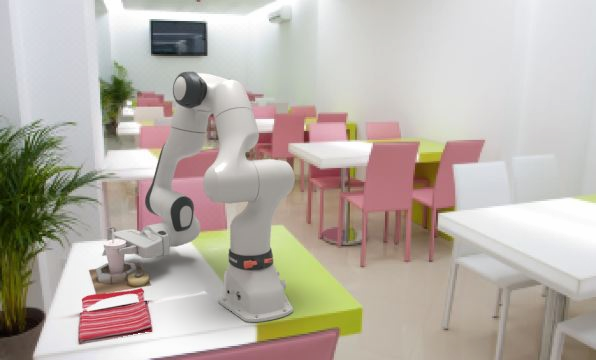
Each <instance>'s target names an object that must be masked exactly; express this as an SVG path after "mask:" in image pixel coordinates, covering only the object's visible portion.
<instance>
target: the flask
mask: <svg viewBox="0 0 596 360" xmlns="http://www.w3.org/2000/svg"><path fill="white" fill-rule="evenodd" d="M112 229H114V232H117V229H118V227H116V226H109V227H107V228H106V231H107V239H106V241H109V240H112ZM102 256H106V257H107V255H106V251H105V248H103V252H102Z"/></svg>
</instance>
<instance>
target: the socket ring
mask: <svg viewBox="0 0 596 360" xmlns="http://www.w3.org/2000/svg"><path fill="white" fill-rule="evenodd" d="M133 263H134V262H127V261H124V269H123V271H127V272H125V273H119V274H113V275H112V274H107V273H108V272H110V270H109V265H108V262H107V263H104V264H102V265H100V266H99V267H97V268H95V269H96V276H97V280H98V282H100V283H106V284H117V283H123V282H127V281H128V276H129V275H131V274H134V273H137V269H136V266H135V264H133Z"/></svg>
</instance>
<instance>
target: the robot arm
mask: <svg viewBox="0 0 596 360" xmlns="http://www.w3.org/2000/svg"><path fill="white" fill-rule="evenodd" d="M172 95H173V99H174V101H175V102H176V105H175V108H174V111H173V114H172V119H171V125H170V129H169V134H168V137H167V139H166V141H165V142H164V144H163V145H162V147H161V150H160V153H159V157H158V160H157V163H156V167H155V171H154V176H153V178H152V182H151V184H150V187H149V189H148V191H147V192H146V195H145V199H144V204H145V208H146V209H147V211H148V212H149V213H151V214H153V215H156V216H158V217H161V218H162V221H160V222H157V223H153V224H149V225H145V226H143V228H142V230H141V231H140V230H137V229H134V228H132V229H123V230H118V231H117V230H116V232H114V239H122V240H125V241H126V246H125V248H124V247H122V248H118V250H117V251H118V254H120V255H124V254H125V255H137V256H139V257H141V258H143V259H151V258H155V257H156V258H157V257H159V256H166V255H170V248H172V247H173V248H177V247H179V246H183V245H186V244H189V243H191V242H193V241H194V240H196V239H197V238H198V237H199V235H200V232H201V223H200V221H199V219H198V218H197V217H196V215H195V205H194V202H193V200H192V199H191V198H190V197H189V196H187V195H184V194H183V193H180V192H178V191H175V190H174V189H173V186H172V184H173V180H174V176H175V173H176V170H177V169H176V168H177V165H178V163H179V162H180V161H181V160H183V159H185V158H186V159H187V158H190V157H194V156H196V155H198V154H199V153H200V152H201V151H202V150H203V147H204V145H205V142H206V138H207V137H206V136H207V131H208V123H209V118H210V116H211V115H213V119H214V123H215V127H216V131H217V133H216V134H217V138H218V145H219V147H218V152H217V156H216V158H215V161H214V162H213V163H212V164H211V165H210V166H209V167H208V168H207V170H206V171H205V173H204V175H203V180H202V187H203V191H204V193H205V195H206V197H207V198H208V199H209V200H210V201H211V202H212V203H219V204H238V203H245V202H247V204H246V205H245V207H244V209H243V210H242V211H241V212H240V213H238V214H237V215H236V216H234V217H233V219H232V220H231V222H230V226H229V227H230V228H229V230H230V231H229V232H230V233H229V235H230V237H229V240H230V241H229V242H230V243H229V245H230V248H229V249H228V256H227V257H228V263H229V264H228V266H227V268H226V270H225V271H224V273H223V289H222V290H223V291H222V295H220V296H219V297H218V304H219V305H221V306H222V307H224V308H225V309H227V310H228V309H229V312H231V311H232V312H231V313H232V314H234V315H235V316H237V317H238V316H239V318H240V319H241V320H243V321H244V322H249V323H257V322H258V323H259V322H268V321H271V320H272V321H273V320H275V319H280V318H283V317H287V316H288V315H290V314H292V313H293V312H294V308H293V305H292V303H291V301H289V299H288V297H287V296H286V294H285V289H286V288H287V281H286V280H284V279H282V280H281V278H280V271H277V270H276V269H277V268H275V264H274V258H273V257H274V254H273V250H272V248H271V238H272V237H271V236H272V235H271V232H272V224H273V219H274V215H275V213H276V211H277V209H278V207H279V205H280V204H281V202H282V201H283V200H284V198H286V197H287V196H288V195H289V194H290V193H291V192H292V190H293V188H294V186H295V180H296V177H295V176H296V175H295V171H294V169H293V167H292V166H291V165H290V163H289V162H288V161H285V160H280V159H275V158H274V159H273V158H268V159H266V158H265V159H254V160H252V159H251V160H248V159H247V156H246V153H247V152H249V151H250V150H252V149H253V148H254V147H255V146H256V145H257V143H258V142H259V137H260V131H259V128H258V126H257V122H256V117H255V115H254V110H253V107H252V103H251V101H250V98H249V96H248V94H247V92H246V89H245V87H244V85H243V84H242V83H241V82H240V81H238V80H235V79H231V78H224V77H222V76H219V75H215V74H211V73H204V72H195V71H183V72H181V73H179V74H178V75H177V76H176V78H175V79H174V81H173V85H172ZM125 255H124V256H125Z"/></svg>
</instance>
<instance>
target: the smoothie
mask: <svg viewBox="0 0 596 360" xmlns="http://www.w3.org/2000/svg"><path fill="white" fill-rule="evenodd" d="M125 246H126V241H125V240H122V239H114V229H112V240H109V241H107V240H106V241H104V242H103V249H105V251H106V255H107V256H106V255H105V256H106V260H107V263H108V265H109V270H110V274H112V275H113V274H119V273H123V269H124V262H125V255H126V254H124V255H120V254H118V251H117V250H118V248H122V247H124V248H125Z"/></svg>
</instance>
